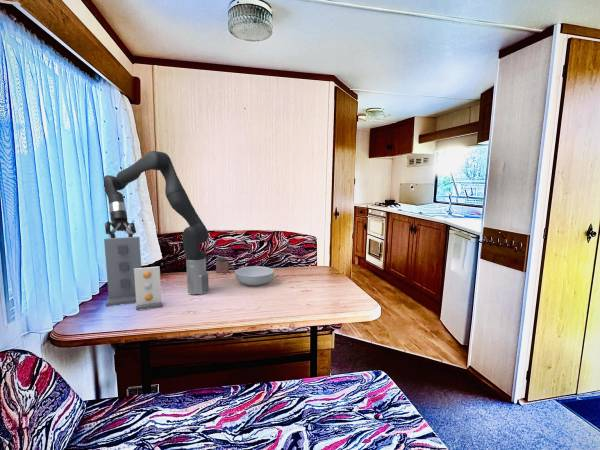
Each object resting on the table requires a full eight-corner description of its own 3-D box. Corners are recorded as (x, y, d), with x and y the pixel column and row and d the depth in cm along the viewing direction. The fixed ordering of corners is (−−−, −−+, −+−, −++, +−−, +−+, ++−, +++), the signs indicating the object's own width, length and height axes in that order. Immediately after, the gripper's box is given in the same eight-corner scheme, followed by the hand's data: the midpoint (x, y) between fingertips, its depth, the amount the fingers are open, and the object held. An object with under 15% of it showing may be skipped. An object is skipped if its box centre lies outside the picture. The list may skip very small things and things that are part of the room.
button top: (120, 250, 154) (119, 242, 154) (128, 249, 155) (128, 242, 155) (118, 253, 146) (117, 246, 146) (127, 253, 147) (126, 245, 147)
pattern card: (137, 305, 144) (134, 267, 142) (161, 302, 148) (159, 265, 145) (136, 310, 138) (133, 270, 136) (161, 307, 142) (159, 268, 140)
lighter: (230, 272, 196) (229, 256, 194) (228, 274, 192) (227, 257, 191) (217, 272, 196) (216, 256, 195) (215, 274, 193) (214, 257, 192)
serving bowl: (272, 289, 166) (272, 276, 165) (231, 289, 166) (230, 276, 165) (275, 277, 187) (275, 265, 186) (239, 277, 187) (239, 265, 186)
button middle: (121, 266, 155) (121, 259, 155) (129, 265, 157) (129, 258, 156) (119, 271, 147) (119, 263, 147) (128, 270, 149) (127, 262, 148)
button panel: (110, 296, 155) (105, 236, 151) (144, 292, 161) (141, 234, 157) (105, 306, 143) (100, 241, 139) (143, 301, 149) (139, 239, 145)
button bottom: (122, 282, 156) (122, 275, 156) (131, 281, 158) (130, 274, 157) (120, 288, 148) (120, 280, 148) (129, 287, 150) (128, 279, 149)
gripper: (107, 208, 161) (112, 239, 158) (135, 210, 173) (140, 239, 170) (100, 213, 165) (104, 244, 161) (127, 215, 177) (132, 243, 173)
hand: (122, 241), depth 166 cm, fingers open, 8 cm apart
